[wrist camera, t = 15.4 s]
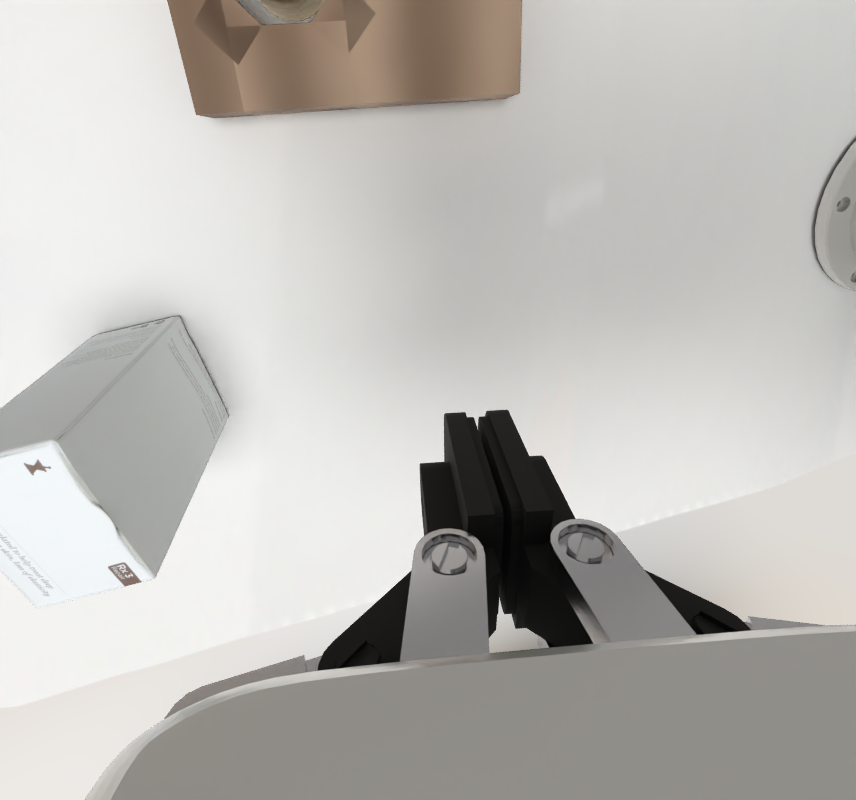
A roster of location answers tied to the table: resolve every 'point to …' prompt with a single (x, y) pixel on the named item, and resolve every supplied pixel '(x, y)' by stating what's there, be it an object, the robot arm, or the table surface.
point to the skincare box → (104, 462)
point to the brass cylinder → (292, 8)
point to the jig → (348, 55)
